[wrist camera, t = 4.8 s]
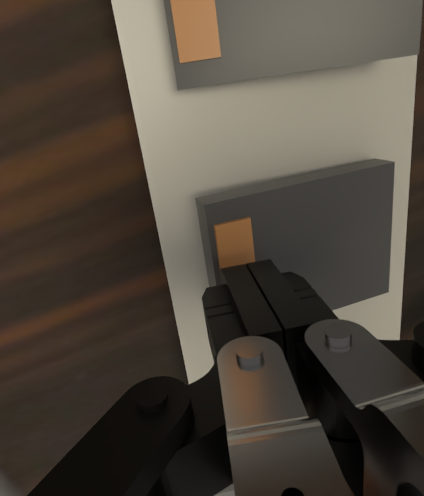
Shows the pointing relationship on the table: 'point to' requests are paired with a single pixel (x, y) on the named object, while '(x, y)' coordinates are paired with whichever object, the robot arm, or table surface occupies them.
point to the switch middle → (308, 229)
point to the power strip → (258, 154)
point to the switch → (285, 36)
